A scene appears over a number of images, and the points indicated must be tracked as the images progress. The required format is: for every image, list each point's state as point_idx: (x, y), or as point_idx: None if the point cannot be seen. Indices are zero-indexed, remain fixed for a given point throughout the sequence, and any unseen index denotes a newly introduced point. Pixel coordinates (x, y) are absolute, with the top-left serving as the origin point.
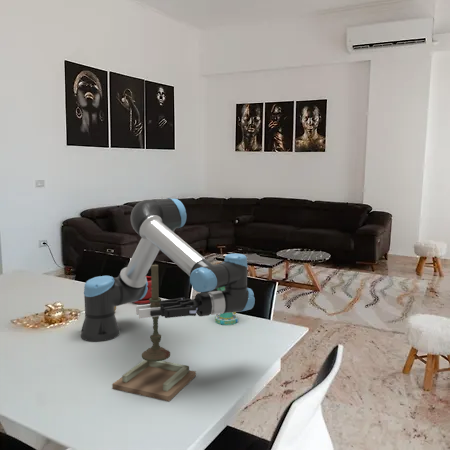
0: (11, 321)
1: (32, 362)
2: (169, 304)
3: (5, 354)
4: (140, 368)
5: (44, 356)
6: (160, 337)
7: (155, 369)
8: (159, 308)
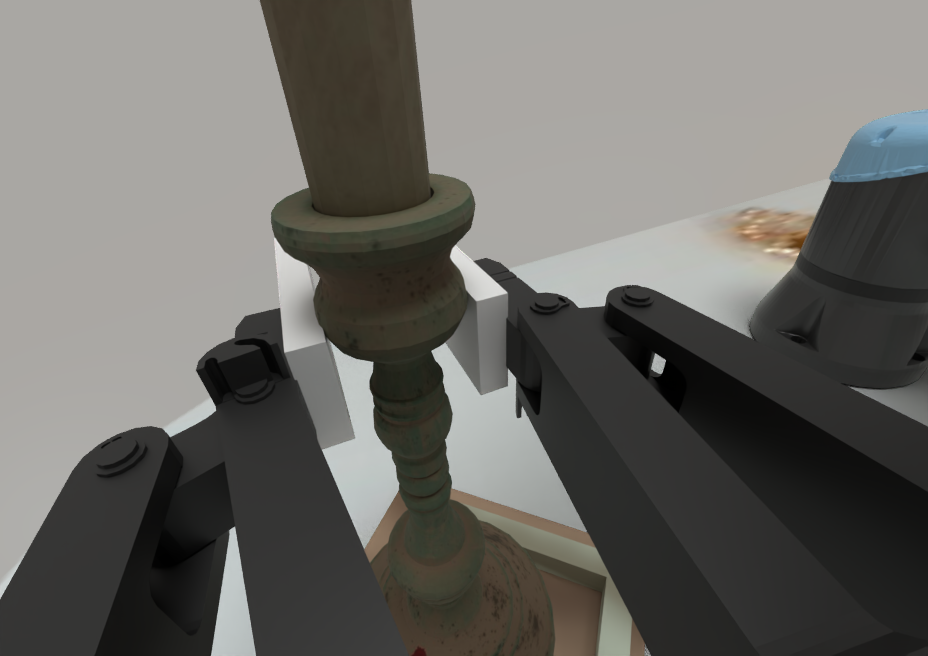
0: (744, 209)
1: (558, 286)
2: (607, 463)
3: (582, 248)
4: None
5: (597, 291)
6: (412, 592)
7: (569, 646)
8: (289, 357)
